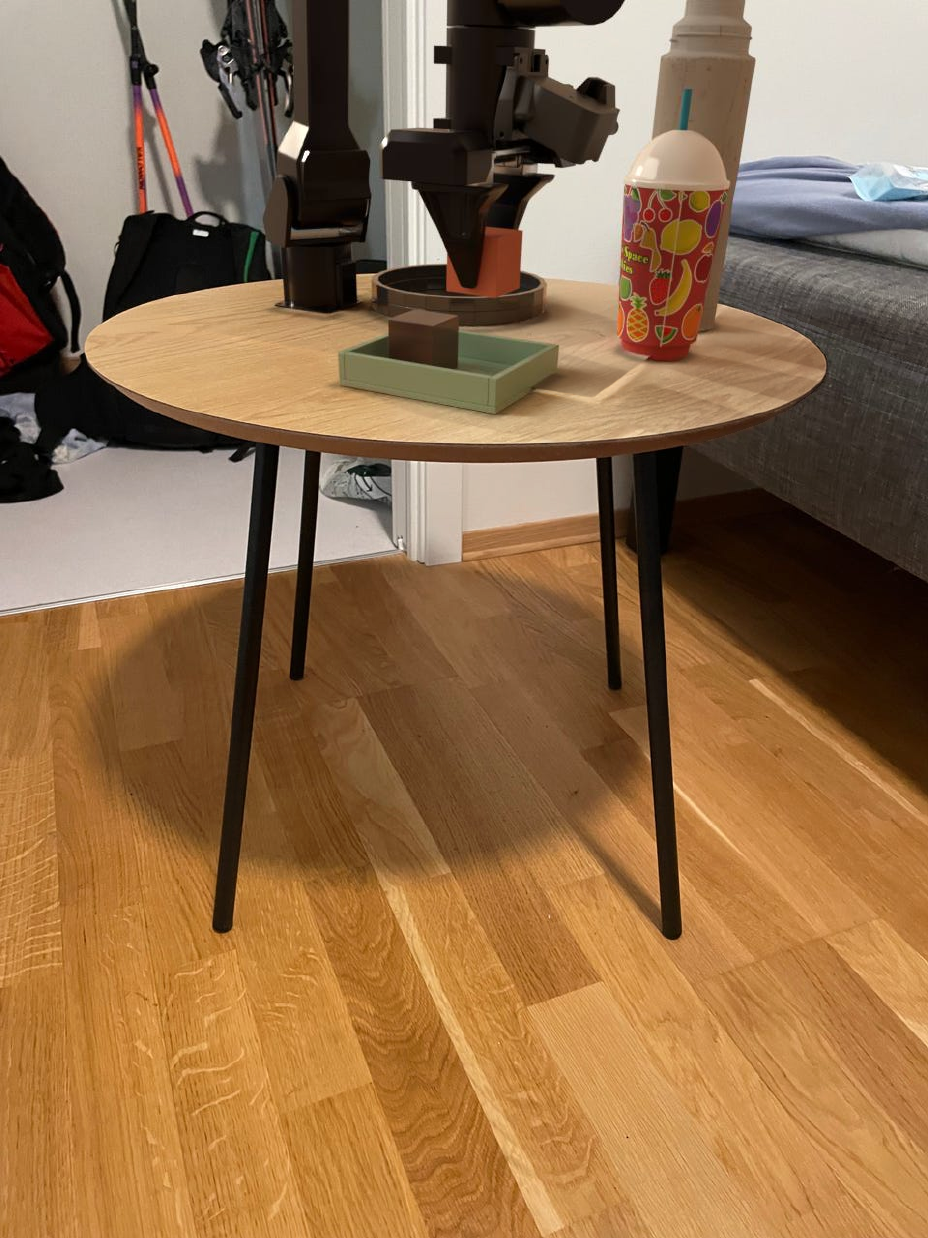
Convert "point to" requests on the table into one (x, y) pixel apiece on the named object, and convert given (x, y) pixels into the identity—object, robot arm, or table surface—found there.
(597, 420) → the table surface
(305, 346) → the table surface
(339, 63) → the robot arm
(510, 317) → the pan
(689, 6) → the thermos bottle
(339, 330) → the table surface
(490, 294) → the terracotta block
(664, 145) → the smoothie
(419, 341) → the walnut block
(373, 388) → the tray
